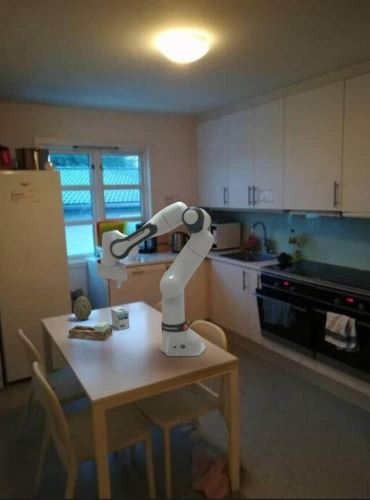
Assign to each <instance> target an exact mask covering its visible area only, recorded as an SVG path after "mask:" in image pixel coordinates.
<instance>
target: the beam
mask: <svg viewBox="0 0 370 500" xmlns="http://www.w3.org/2000/svg"><path fill="white" fill-rule="evenodd" d="M112 336H113V327H109V328H108V329H107V331H106V332H95V328H94V326H88V325H87V326H86V325H77V324H76V325H75V326H73V327H71V328H70V329H69V330H68V338H69V337H70V338H72V339H82V340H84V339H85V340H96V341H107V340H108V339H109V338H111V337H112Z"/></svg>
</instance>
